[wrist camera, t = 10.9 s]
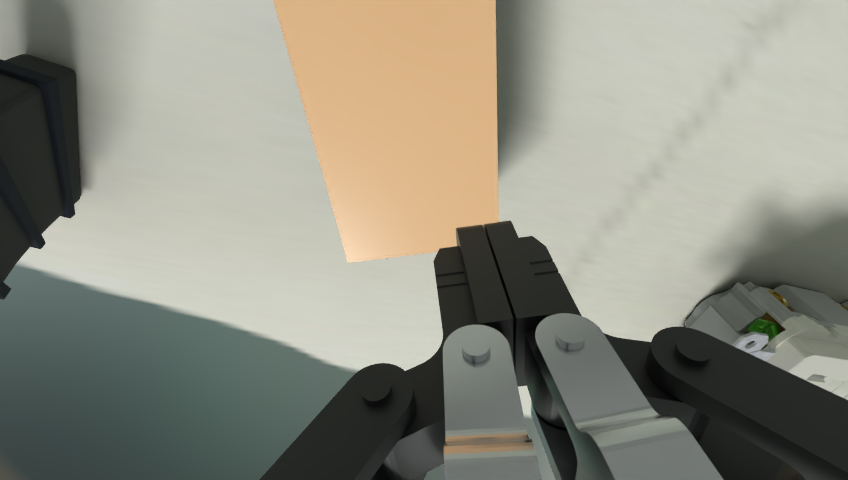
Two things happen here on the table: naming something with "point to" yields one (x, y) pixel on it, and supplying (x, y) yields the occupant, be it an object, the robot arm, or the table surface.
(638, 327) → the table surface
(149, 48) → the table surface
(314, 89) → the tan flat rectangular panel
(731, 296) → the electrical outlet
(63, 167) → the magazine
